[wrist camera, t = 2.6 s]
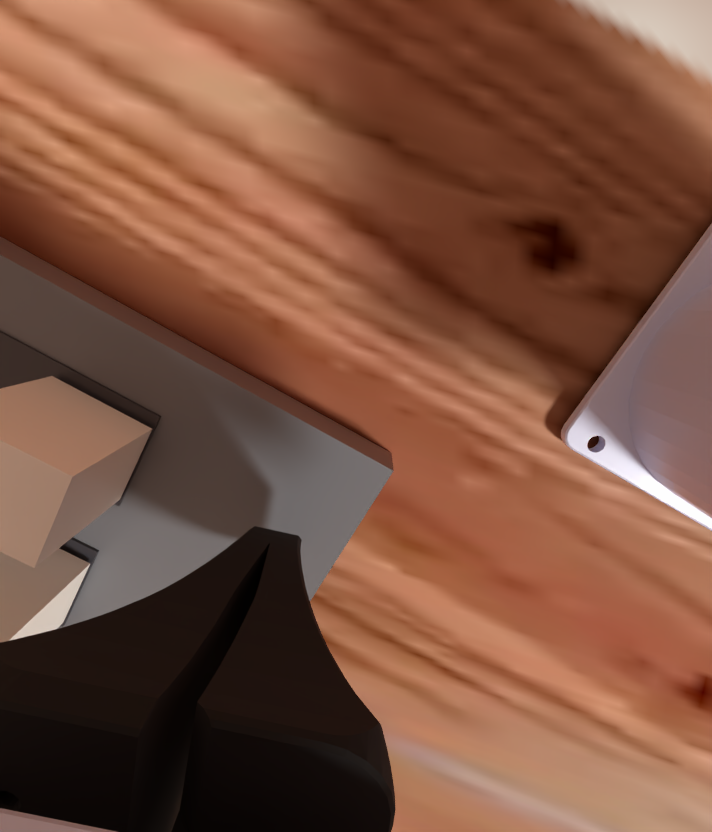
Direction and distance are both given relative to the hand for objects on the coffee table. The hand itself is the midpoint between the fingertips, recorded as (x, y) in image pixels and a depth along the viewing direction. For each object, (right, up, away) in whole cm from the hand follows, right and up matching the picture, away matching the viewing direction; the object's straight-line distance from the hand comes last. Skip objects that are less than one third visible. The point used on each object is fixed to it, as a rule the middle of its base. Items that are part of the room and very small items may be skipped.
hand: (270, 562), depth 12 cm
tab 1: (-5, +3, 0) cm, 6 cm away
